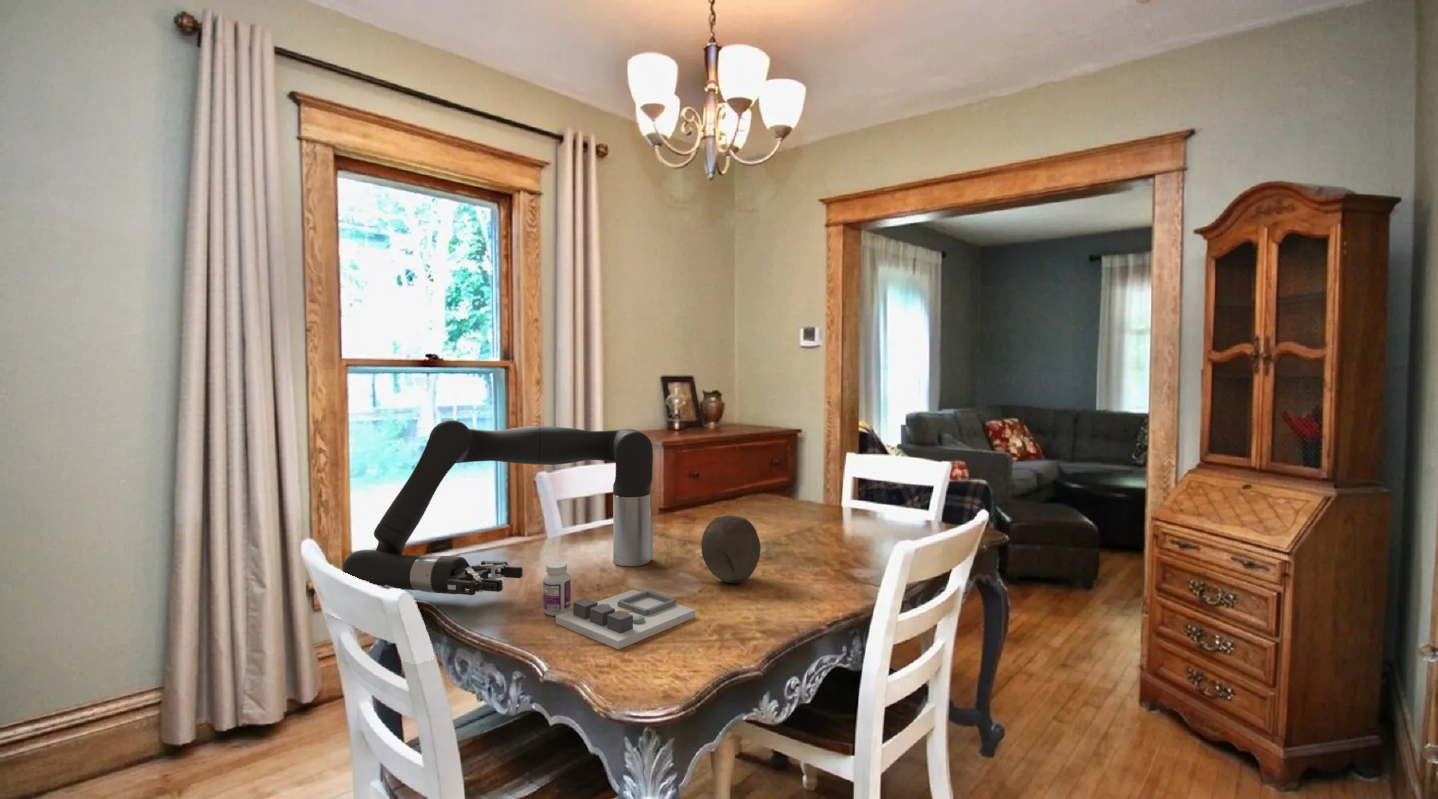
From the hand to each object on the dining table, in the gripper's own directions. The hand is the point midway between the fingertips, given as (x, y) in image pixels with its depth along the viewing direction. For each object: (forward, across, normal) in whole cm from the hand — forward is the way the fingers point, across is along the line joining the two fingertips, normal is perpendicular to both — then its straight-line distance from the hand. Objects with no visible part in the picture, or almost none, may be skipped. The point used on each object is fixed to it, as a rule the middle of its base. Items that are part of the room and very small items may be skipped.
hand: (512, 579), depth 138 cm
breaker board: (+25, -2, +6) cm, 26 cm away
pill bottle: (+10, 0, +6) cm, 12 cm away
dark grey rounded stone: (+41, +26, +6) cm, 49 cm away
